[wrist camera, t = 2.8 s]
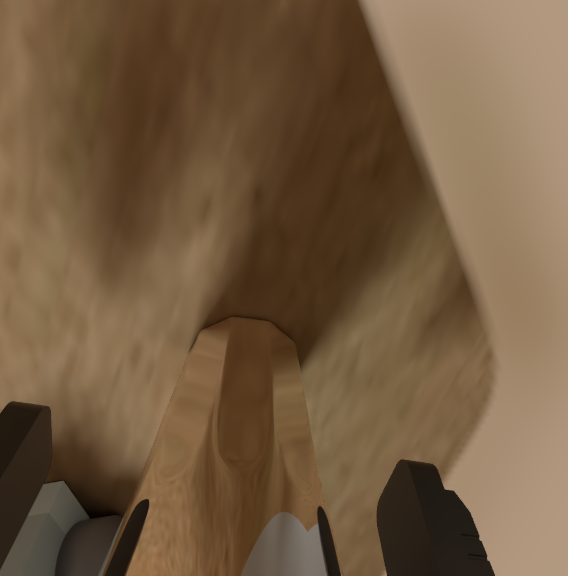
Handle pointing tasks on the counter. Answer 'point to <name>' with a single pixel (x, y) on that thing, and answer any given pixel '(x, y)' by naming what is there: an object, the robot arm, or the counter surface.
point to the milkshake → (230, 469)
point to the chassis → (60, 537)
